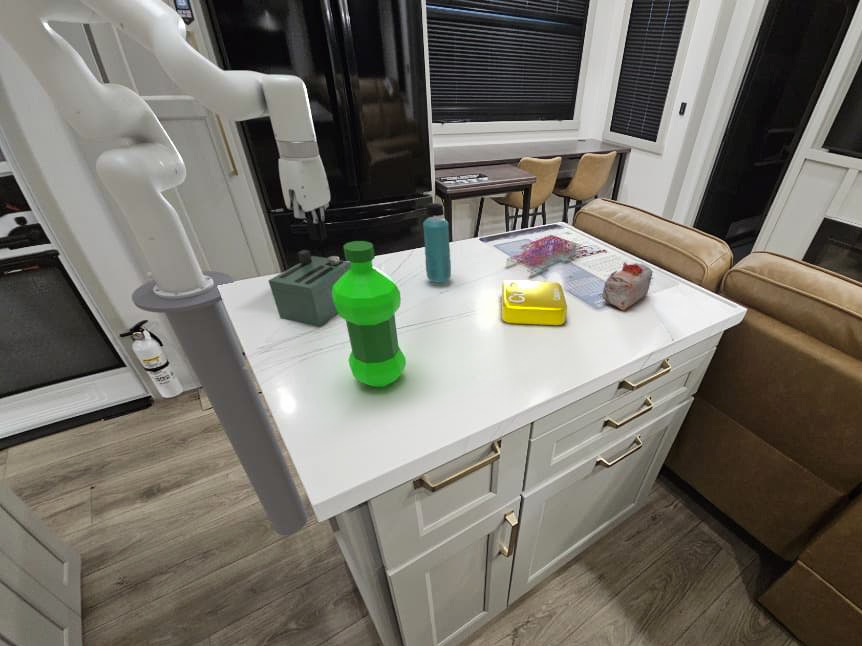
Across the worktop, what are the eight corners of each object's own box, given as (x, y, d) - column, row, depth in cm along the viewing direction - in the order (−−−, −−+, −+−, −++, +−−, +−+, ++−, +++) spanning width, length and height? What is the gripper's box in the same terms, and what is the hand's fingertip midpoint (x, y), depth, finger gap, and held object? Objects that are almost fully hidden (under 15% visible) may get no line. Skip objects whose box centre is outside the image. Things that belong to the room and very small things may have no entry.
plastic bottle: (399, 357, 83) (383, 231, 68) (415, 388, 76) (401, 254, 60) (346, 369, 79) (317, 237, 64) (359, 402, 72) (328, 263, 56)
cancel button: (327, 268, 95) (325, 259, 94) (333, 264, 97) (331, 255, 96) (336, 269, 95) (335, 260, 94) (342, 266, 97) (341, 256, 95)
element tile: (565, 326, 97) (568, 308, 94) (501, 323, 96) (502, 304, 93) (558, 297, 109) (561, 280, 106) (501, 294, 108) (502, 277, 105)
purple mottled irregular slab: (533, 281, 116) (534, 263, 113) (492, 265, 123) (493, 247, 120) (589, 254, 135) (592, 238, 132) (551, 242, 142) (553, 226, 139)
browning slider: (300, 263, 94) (297, 252, 92) (305, 260, 95) (303, 249, 94) (306, 264, 93) (303, 253, 92) (312, 261, 95) (309, 250, 93)
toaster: (280, 318, 92) (267, 280, 86) (321, 290, 104) (312, 255, 98) (320, 326, 90) (310, 287, 85) (357, 297, 102) (350, 261, 96)
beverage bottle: (455, 285, 111) (453, 206, 99) (432, 289, 108) (427, 209, 96) (445, 275, 115) (442, 199, 103) (422, 279, 112) (416, 201, 100)
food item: (625, 314, 104) (634, 277, 98) (597, 303, 108) (605, 267, 102) (649, 297, 112) (659, 262, 106) (622, 288, 116) (631, 253, 110)
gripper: (305, 142, 92) (323, 227, 103) (256, 153, 80) (283, 247, 91) (335, 146, 90) (351, 231, 102) (290, 157, 79) (313, 252, 90)
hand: (319, 238), depth 97 cm, fingers closed
